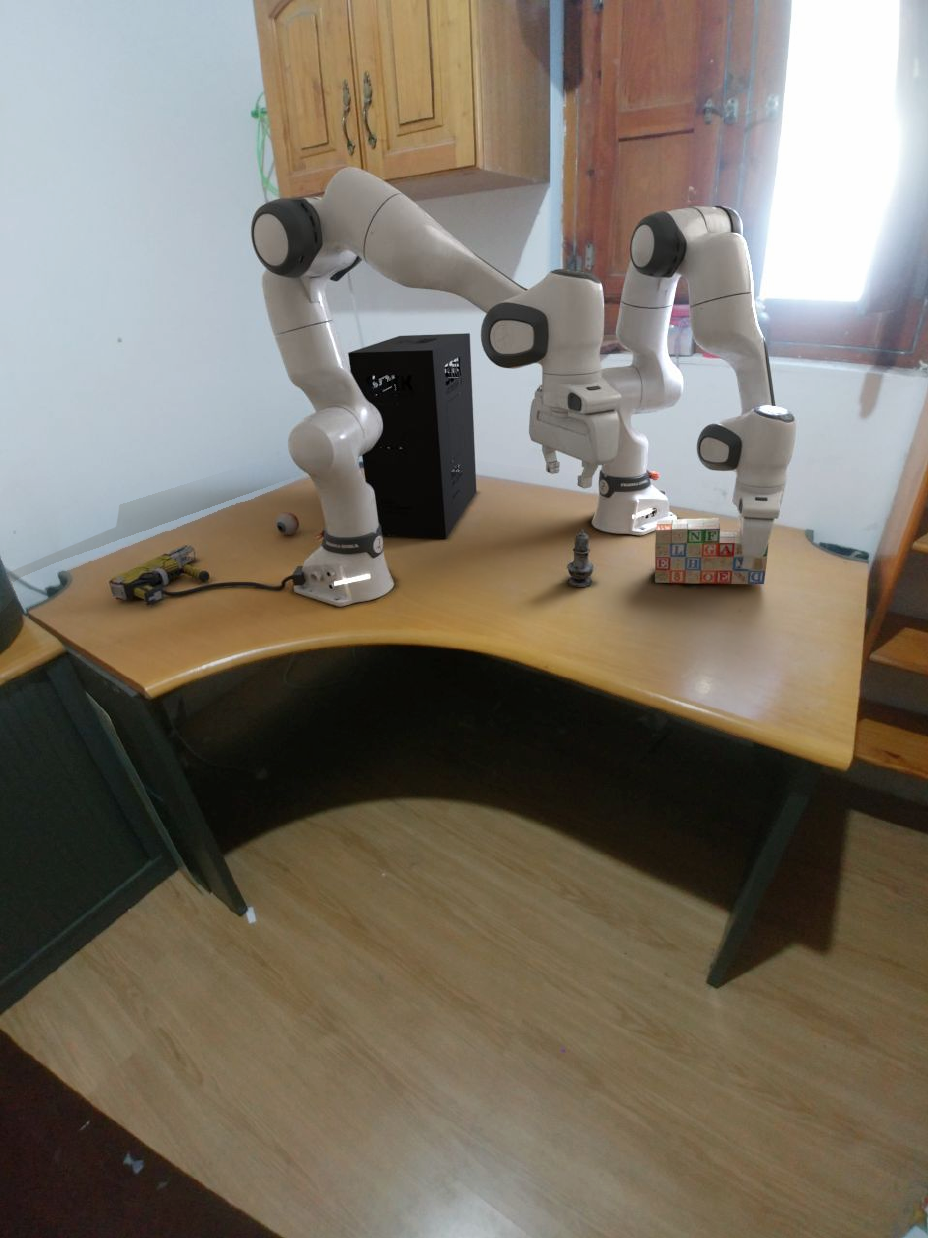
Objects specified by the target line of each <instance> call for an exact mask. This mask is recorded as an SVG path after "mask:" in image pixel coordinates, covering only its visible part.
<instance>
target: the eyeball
mask: <svg viewBox="0 0 928 1238" xmlns="http://www.w3.org/2000/svg"><path fill="white" fill-rule="evenodd" d="M299 525H300V522H299V519H298V517H297V516H296V515H295V514H294V513H292V512H287V511H286V512H282V513H280V514H279V515H278V516H277V517H276V520H275V527H276V529H277V530H278V531H279V532H280V533H281V534H282V535H285V536H286V535H287V536H289V535H293V534H295V533H296V532H297V531H298V529H299Z"/></svg>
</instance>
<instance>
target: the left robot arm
mask: <svg viewBox="0 0 928 1238" xmlns="http://www.w3.org/2000/svg"><path fill="white" fill-rule="evenodd" d="M250 237H251V242H252V243H251V244H252V247H253V250H254V253H255V254H256V256H257V259H258V260H259V261H260V263H261V265H262V266H263V267H264V268H265V270H264V271H263V273H262V276H261V288H262V294H263V300H264V304H265V309H266V313H267V317H268V320H269V321H268V322H269V325H270V327H271V331H272V334H273V336H274V340H275V342H276V346H277V349H278V351H279V354H280V357H281V359H282V362H283V365H284V368H285V371H286V375H287V377H288V379H289V381H290V382H291V383H292V384H293V385H294V386H295V387H297V388H298V389H300V390H301V391H302V392H303V393H304V395H305V397H307V398H308V401H309V402H310V403H311V405H312V407H313V409H314V412H313V413H311V414H308V415H306V416H304V418H302V419H301V420H300V421H299V422H298V423H297V424H296V425H295V426H294V428H292V429H291V431H290V432H289V435H288V440H287V448H288V453H289V456H290V458H291V459H292V461H293V463H294V464H295V465H296V466H297V467H298V468H299V469H300V470H301V471H303V472H305V473H306V474H307V475H308V476H309V478H310V479H311V481H312V483H313V485H314V487H315V489H316V491H317V494H318V497H319V500H320V504H321V510H322V514H323V519H324V525H325V528H323V529H322V530H321V532H319V533H318V534H317V535H315V536H316V537H317V538H316V540H317V541H319V540H321V539H322V542H321V545H320V546H319V547H318V548H316V549H315V551H313V552H312V553H311V554H310V555H309V556H308V557H307V558H306V559H305V560H304V562H303V563H302V565H297V566H296V568H295V570H294V571H293V572H292V574H291V575H288V576H286V577H285V578H284V579H282V580H281V584H280V585H277V586H270V585H267V584H264V583H259V582H254V581H226V582H225V581H224V582H217V583H216V582H215V583H209V584H203V585H200V586H197V587H194V588H189V589H186V590H181V591H168V590H165V589H163V588H162V590H163V595H164V596H169V597H181V596H186V595H189V594H193V593H198V592H200V591H201V592H202V591H205V590H208V589H209V590H210V589H215V588H222V587H223V588H224V587H255V588H260V589H263V590H269V591H281V590H284V589H285V588H286V585H287V583H288V582H289V581H292V583H293V592H294V593H296V594H299V595H302V596H304V597H308V598H310V599H314V600H316V601H320V602H323V603H326V604H329V605H332V606H335V607H338V608H339V607H346V606H349V605H352V604H355V603H363V602H367V601H371V600H376V599H378V598H381V597H383V596H384V595H387V594H388V593H389V592H390V591H391V590H392V589H393V588H394V585H395V582H394V579H393V578H392V575H391V573H390V570H389V568H388V564H387V561H386V557H385V553H384V536H382V530H381V525H380V524H379V523H378V515H377V507H376V500H375V492H374V490H373V488H372V487H371V486H370V485H369V484H368V483H366V481H365V477H364V476H363V473H362V470H361V467H360V461H359V460H360V457H362V455H363V454H365V453H366V452H368V451H370V450H371V449H372V448H373V446H374V445H375V444H376V442H377V441H378V439H379V438H380V436H381V434H382V430H383V422H382V418H381V415H380V413H379V411H378V410H377V408H376V407H375V406H374V405H372V404H371V403H370V402H368V401H367V399H366V398H365V397H364V395H363V393H362V392H361V390H360V388H359V387H358V385H357V383H356V381H355V379H354V378H353V376H352V374H351V371H350V366H349V365H348V363H347V360H346V357H345V354H344V351H343V348H342V345H341V341H340V338H339V335H338V331H337V329H336V326H335V322H334V318H333V316H332V313H331V310H330V307H329V303H328V299H327V294H326V293H327V292H326V291H327V284H328V282H329V281H332V282H339V281H340V280H341V279H342V278H343V277H344V276H345V275H346V274H348V273H349V272H350V271H351V270H353V269H354V268H355V267H357V266H358V265H359V264H360V263H361V262H364V263H366V264H367V265H369V267H371V268H372V269H373V270H375V271H376V272H377V273H379V274H380V275H381V276H383V277H384V278H386V279H388V280H390V281H392V282H394V283H396V284H398V285H401V286H403V287H405V288H410V289H421V290H431V291H432V290H433V291H440V292H446V293H450V294H454V295H456V296H459V297H461V298H462V299H464V300H466V301H468V302H470V303H471V304H472V305H473V306H475V307H476V308H478V309H479V310H480V311H482V312H484V313H485V316H484V318H483V320H482V323H481V328H480V341H481V346H482V349H483V351H484V354H485V355H486V357H487V358H488V359H489V360H490V361H491V362H492V363H493V364H494V365H496V366H497V367H500V368H503V369H510V370H515V369H520V368H523V367H527V366H531V365H533V364H539V365H540V366H541V369H542V370H541V371H542V372H541V384H539V386H537V388H536V390H535V391H534V398H533V399H532V401H531V405H530V409H529V410H530V411H529V412H530V413H529V420H528V421H529V424H528V434H529V438H530V440H531V442H534V443H536V444H537V445H538V444H539V445H541V451H542V455H543V457H544V461H545V471H546V472H547V473H549V474H551V475H554V474H558V473H559V472H560V465H561V464H560V461H558V459H557V453H556V451H557V452H559V453H561V454H564V455H566V456H569V457H572V458H574V459H577V460H580V461H581V468H583V469H582V472H581V474H580V475H577V484H576V485H577V486H578V487H580V488H581V489H583V490H584V489H589V488H592V485H593V477H594V475H595V472H596V471H597V470H598V467H599V466H602V465H604V464H608V463H611V462H613V460H614V459H615V457H616V455H617V450H618V440H619V417H618V414H617V412H616V411H615V410H614V409H618V408H620V406H621V395H620V393H619V392H618V391H616V390H615V389H614V388H612V387H611V386H610V385H609V384H608V383H607V382H606V381H605V379H603V378H601V371H602V369H603V368H602V366H603V365H602V362H601V349H602V348H601V347H602V344H603V341H604V334H605V297H604V288H603V285H602V281H601V280H600V279H599V278H598V276H597V275H595V274H593V273H590V272H587V271H584V270H577V269H567V268H557V269H556V268H555V269H553V270H551V271H549V272H548V273H547V274H546V275H545V277H544V278H543V279H541V280H540V281H539V282H537V283H536V284H534V285H533V286H531V287H530V288H525V287H524V286H522V285H521V284H519V283H517V282H516V281H515V280H513V279H512V278H511V277H509V276H507V275H506V274H504V273H503V272H501V271H500V270H499V269H497V268H496V267H494V266H493V265H491V264H490V263H489V262H487V261H486V260H485V259H484V258H482V257H481V256H479V255H477V254H476V253H475V252H473V251H472V250H470V249H469V248H468V247H466V245H464V244H463V243H462V242H461V241H460V240H458V239H457V238H456V236H454V235H452V234H451V233H450V232H449V231H448V230H446V229H445V228H444V227H443V226H442V225H441V224H440V223H438V222H437V221H436V220H435V219H434V218H433V217H432V216H430V214H428V213H427V212H426V211H425V210H424V209H423V208H421V207H420V205H418V204H417V203H415V202H414V201H413V200H412V199H411V198H409V197H408V196H407V195H406V194H405V193H403V192H401V191H400V190H399V189H397V187H394V186H393V185H392V184H390V183H388V182H387V181H385V180H383V179H381V178H380V177H378V176H376V175H374V174H372V173H370V172H368V171H366V170H364V169H361V168H359V167H356V166H348V167H344V168H342V169H340V170H339V171H337V172H335V174H334V175H333V176H332V177H331V179H330V180H329V181H328V184H327V186H326V188H325V191H324V194H323V196H322V197H321V196H303V197H281V198H276V199H272V200H270V201H267V202H266V203H264V204H262V205H261V206H260V207H258V208H257V210H256V211H255V213H254V215H253V216H252V221H251V224H250Z"/></svg>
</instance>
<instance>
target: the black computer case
mask: <svg viewBox="0 0 928 1238" xmlns="http://www.w3.org/2000/svg"><path fill="white" fill-rule="evenodd" d="M471 352H472V351H471V334H470V333H469V332H467V333H440V334H439V333H437V334H413V335H412V334H410V335H398V336H395V337H392V338H389V339H385V340H383V341H380V342H377V343H373V344H370V345H366V346H364V347H361V348H358V349H355V350H352V351H348V352H347V357H348V362H349V370H350V372H351V374H352V376H353V378H354V379H355V381H356V383H357V385H358V387H359V388H360V390H361V392H362V393H363V395H364V397H365V398H366V399H367V401H368V402H370V403H371V404H372V405H374V406H375V407H376V408H377V410H378V411H379V413H380V415H381V418H382V422H383V430H382V434H381V436H380V438H379V439H378V441H377V442H376V444H375V445H374V446H373V448H372V449H371V450H370V451H368V452H366V453H365V454H363V455H362V456H361V458H362V465H363V473H364V480H365V482H366V483H368V484H369V485H370V486H371V487H372V488H373V490H374V492H375V500H376V507H377V515H378V523H379V524H380V525H381V530H382V537H398V538H399V537H400V538H423V539H424V538H425V539H443V540H444V539H445V540H446V539H447V538H448V537H449V535H450V533H451V532H452V530H453V529H454V528H455V526H456V524H457V523H458V521H459V520H460V518H461V517H462V515H463V514H464V512H465V511H466V509H467V507H468V506H469V505H470V503H471V502H472V500H473V498H474V497H475V495H476V494H477V471H476V470H477V469H476V448H475V446H476V445H475V426H474V424H475V423H474V422H475V421H474V401H473V377H472V355H471ZM450 364H451V365H450Z"/></svg>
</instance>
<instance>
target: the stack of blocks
mask: <svg viewBox="0 0 928 1238" xmlns="http://www.w3.org/2000/svg"><path fill="white" fill-rule="evenodd" d="M654 543H655V545H654V553H655V554H654V565H655V566H654V583H655V584H656V583H659V584H661V583H662V584H663V583H664V584H722V585H723V584H726V585H727V584H729V585H730V584H732V585H765V579H766V573H767V572H766V571H767V564H768V553H769V542H768V545H767V548H766V551H765V553H764V555H763V557H761V558H754V560H753V563H752V568H751V569H743V568H742V559H743V555H742V547H741V540H740V533H739V531H721V525H720V519H719V517H716V518H715V517H711V518H709V517H708V518H707V517H706V518H705V517H704V518H677V519H673V520H672V519H659V520H657V525H656V530H655V542H654Z"/></svg>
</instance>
